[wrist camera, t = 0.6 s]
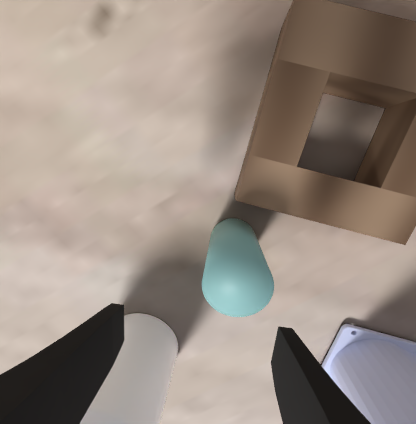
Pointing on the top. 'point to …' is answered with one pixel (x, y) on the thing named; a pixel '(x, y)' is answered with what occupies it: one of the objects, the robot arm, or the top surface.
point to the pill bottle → (137, 375)
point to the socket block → (347, 88)
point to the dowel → (236, 270)
